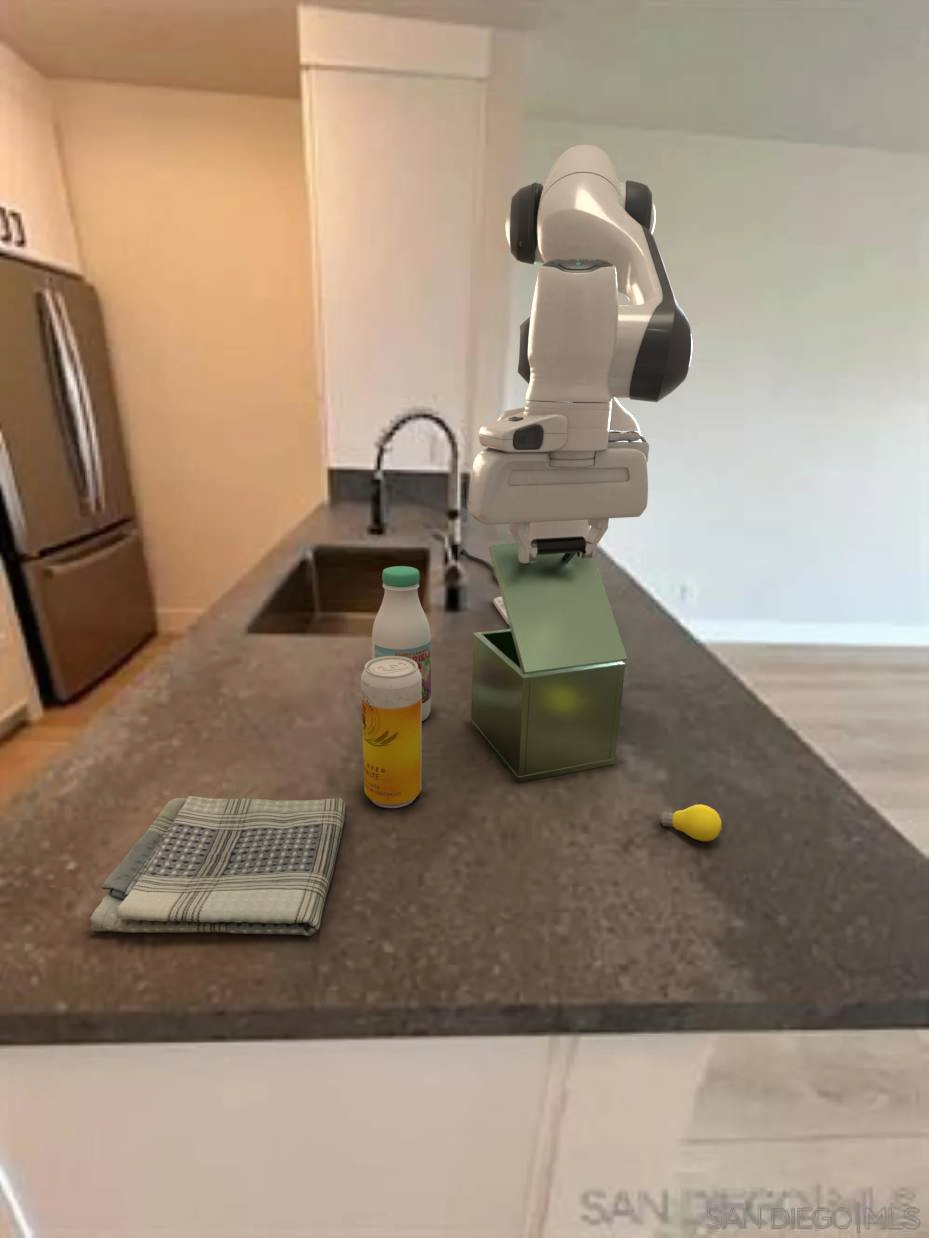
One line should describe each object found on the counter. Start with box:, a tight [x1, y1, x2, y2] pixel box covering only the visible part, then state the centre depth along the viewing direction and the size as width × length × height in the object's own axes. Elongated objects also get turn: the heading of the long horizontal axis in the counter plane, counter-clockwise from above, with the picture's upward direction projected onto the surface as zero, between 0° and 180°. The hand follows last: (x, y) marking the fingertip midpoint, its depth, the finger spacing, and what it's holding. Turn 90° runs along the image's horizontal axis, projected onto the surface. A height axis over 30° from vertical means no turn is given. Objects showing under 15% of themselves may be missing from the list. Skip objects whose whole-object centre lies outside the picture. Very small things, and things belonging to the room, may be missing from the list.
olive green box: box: [470, 628, 626, 784], centre depth 82 cm, size 15×13×13 cm
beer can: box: [360, 656, 423, 809], centre depth 70 cm, size 6×6×15 cm
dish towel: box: [89, 795, 347, 937], centre depth 60 cm, size 19×18×3 cm
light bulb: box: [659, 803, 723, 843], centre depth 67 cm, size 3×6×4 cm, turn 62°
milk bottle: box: [371, 565, 432, 722], centre depth 87 cm, size 8×8×20 cm
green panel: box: [488, 536, 628, 675], centre depth 74 cm, size 15×13×5 cm
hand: (556, 559), depth 75 cm, fingers closed on green panel, 6 cm apart
